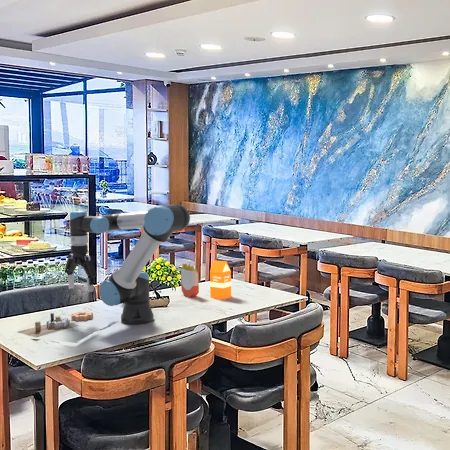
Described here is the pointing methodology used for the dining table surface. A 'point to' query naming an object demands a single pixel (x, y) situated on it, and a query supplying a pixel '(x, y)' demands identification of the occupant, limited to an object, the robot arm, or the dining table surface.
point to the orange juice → (220, 280)
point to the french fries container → (189, 280)
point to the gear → (59, 324)
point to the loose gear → (82, 316)
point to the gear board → (43, 329)
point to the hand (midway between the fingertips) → (80, 290)
